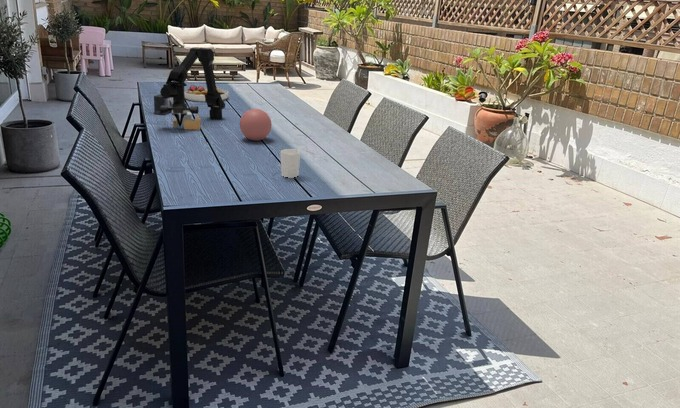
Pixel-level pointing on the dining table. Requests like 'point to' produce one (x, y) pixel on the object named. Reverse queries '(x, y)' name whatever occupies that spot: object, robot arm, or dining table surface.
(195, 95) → the bowl
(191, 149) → the dining table surface
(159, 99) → the small box
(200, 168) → the dining table surface
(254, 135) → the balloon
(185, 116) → the plug block
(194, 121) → the bar
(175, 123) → the channel
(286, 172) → the white cup
